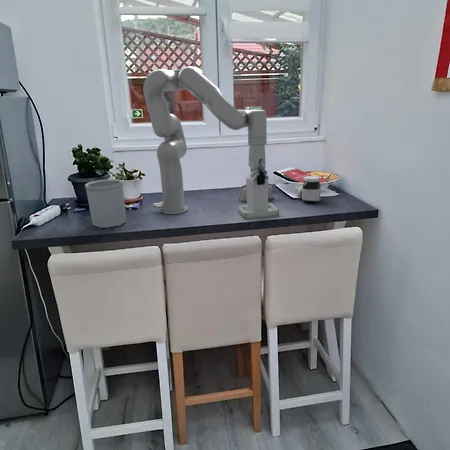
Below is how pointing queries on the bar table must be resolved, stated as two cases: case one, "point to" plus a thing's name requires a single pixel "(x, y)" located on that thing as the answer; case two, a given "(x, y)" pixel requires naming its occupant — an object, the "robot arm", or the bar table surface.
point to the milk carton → (256, 193)
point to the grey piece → (244, 192)
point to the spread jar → (310, 190)
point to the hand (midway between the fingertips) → (257, 182)
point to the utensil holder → (106, 202)
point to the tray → (249, 215)
